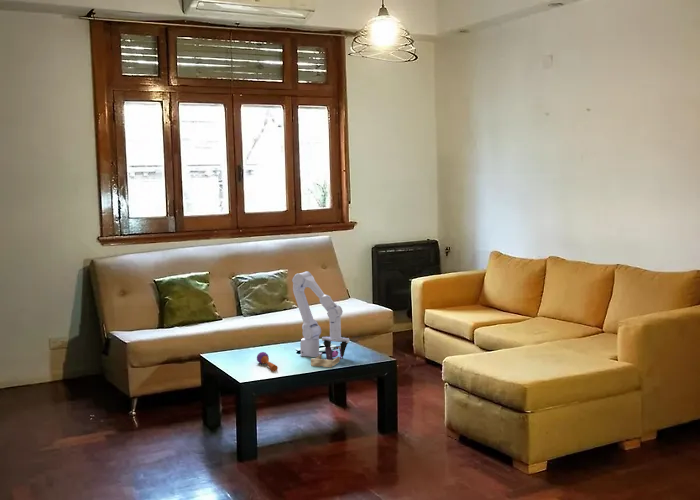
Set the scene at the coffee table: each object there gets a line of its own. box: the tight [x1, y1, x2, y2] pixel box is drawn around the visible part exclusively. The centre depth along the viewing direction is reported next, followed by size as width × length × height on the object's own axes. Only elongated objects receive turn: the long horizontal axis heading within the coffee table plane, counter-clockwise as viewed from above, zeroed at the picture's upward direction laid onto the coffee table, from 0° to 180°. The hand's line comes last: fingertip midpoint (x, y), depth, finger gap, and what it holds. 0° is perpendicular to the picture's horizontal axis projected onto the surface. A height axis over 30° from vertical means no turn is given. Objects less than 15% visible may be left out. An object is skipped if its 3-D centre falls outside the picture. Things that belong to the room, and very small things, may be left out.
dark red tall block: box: [324, 345, 344, 360], centre depth 395 cm, size 7×5×9 cm
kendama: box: [256, 351, 279, 372], centre depth 382 cm, size 6×6×20 cm
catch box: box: [310, 354, 341, 368], centre depth 385 cm, size 11×12×4 cm
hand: (335, 355), depth 396 cm, fingers open, 7 cm apart
